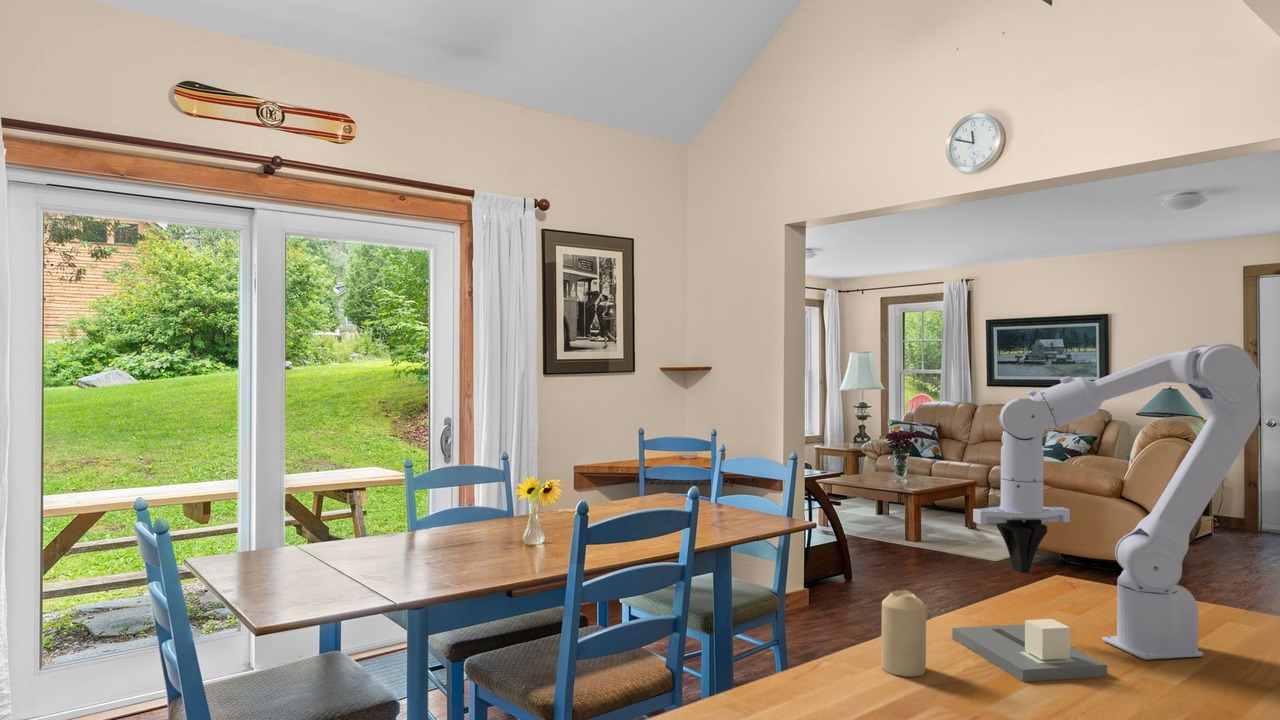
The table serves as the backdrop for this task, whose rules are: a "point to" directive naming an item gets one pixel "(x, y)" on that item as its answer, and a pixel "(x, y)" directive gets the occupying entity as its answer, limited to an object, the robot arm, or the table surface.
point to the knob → (1047, 639)
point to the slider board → (1025, 654)
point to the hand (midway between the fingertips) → (1021, 571)
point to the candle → (903, 634)
